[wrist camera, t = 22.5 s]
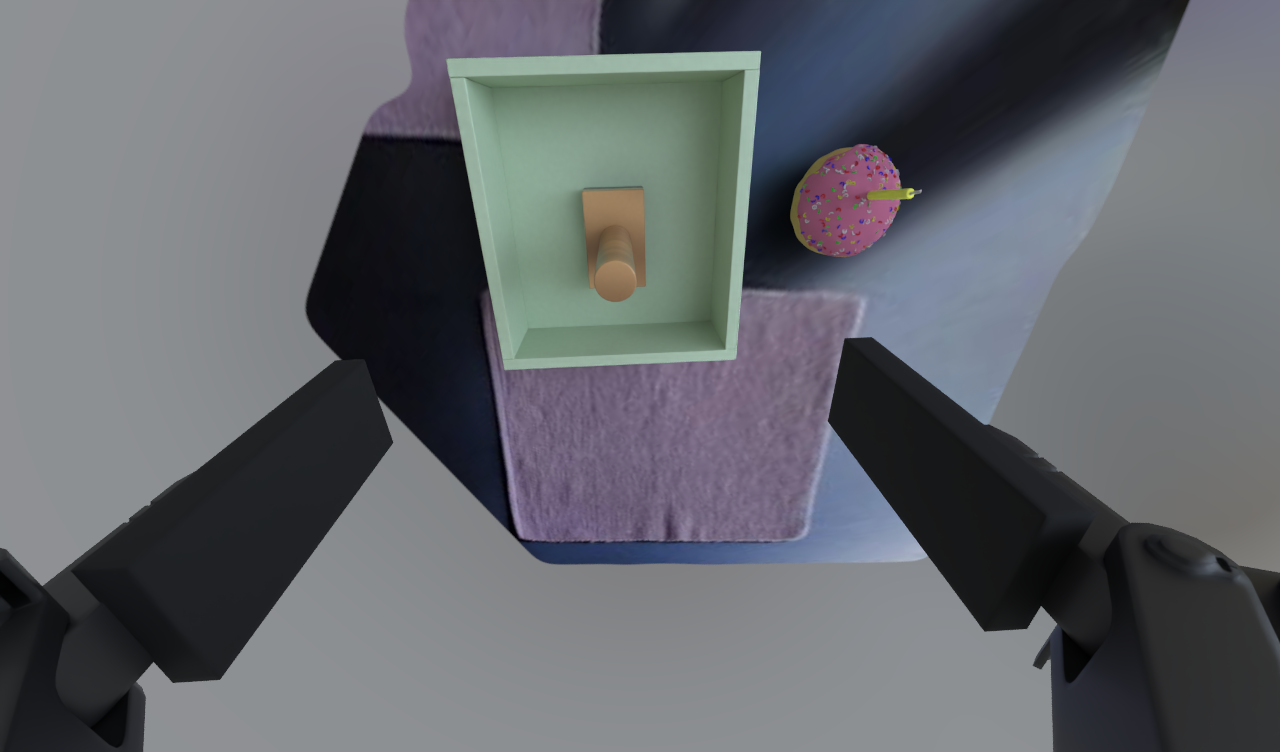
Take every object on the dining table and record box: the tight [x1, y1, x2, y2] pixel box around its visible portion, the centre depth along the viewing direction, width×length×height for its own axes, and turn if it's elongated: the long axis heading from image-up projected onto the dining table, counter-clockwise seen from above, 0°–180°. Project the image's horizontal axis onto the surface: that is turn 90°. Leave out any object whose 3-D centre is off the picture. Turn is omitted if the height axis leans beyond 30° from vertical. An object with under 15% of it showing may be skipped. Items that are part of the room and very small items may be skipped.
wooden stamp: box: [582, 186, 646, 302], centre depth 34 cm, size 8×5×15 cm, turn 1°
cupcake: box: [790, 144, 922, 257], centre depth 35 cm, size 9×8×12 cm
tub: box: [446, 51, 761, 370], centre depth 37 cm, size 22×20×8 cm
